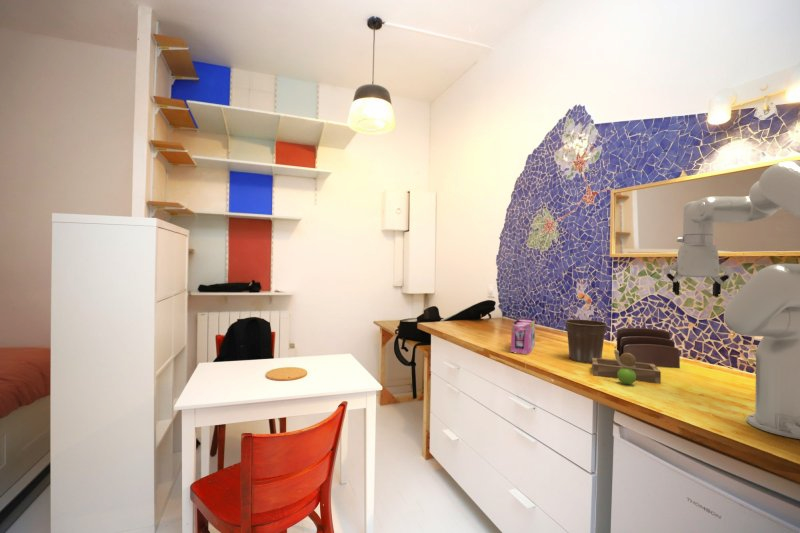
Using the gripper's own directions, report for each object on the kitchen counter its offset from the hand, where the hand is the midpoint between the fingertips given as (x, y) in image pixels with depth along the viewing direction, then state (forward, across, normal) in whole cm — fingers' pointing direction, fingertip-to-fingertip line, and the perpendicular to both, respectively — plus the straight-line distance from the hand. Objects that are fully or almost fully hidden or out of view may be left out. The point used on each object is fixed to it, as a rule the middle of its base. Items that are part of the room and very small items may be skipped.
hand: (695, 295), depth 116 cm
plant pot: (+32, -31, +28) cm, 52 cm away
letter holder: (+32, -8, +36) cm, 49 cm away
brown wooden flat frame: (+31, -18, +10) cm, 37 cm away
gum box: (+32, -57, +36) cm, 75 cm away
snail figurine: (+31, -18, -2) cm, 36 cm away
